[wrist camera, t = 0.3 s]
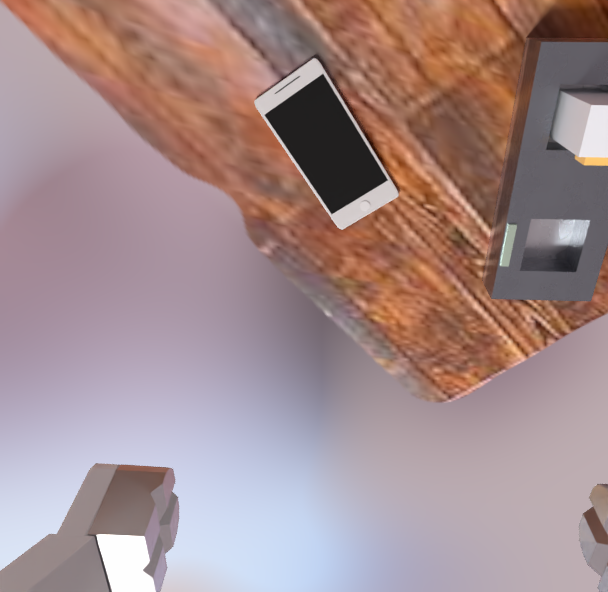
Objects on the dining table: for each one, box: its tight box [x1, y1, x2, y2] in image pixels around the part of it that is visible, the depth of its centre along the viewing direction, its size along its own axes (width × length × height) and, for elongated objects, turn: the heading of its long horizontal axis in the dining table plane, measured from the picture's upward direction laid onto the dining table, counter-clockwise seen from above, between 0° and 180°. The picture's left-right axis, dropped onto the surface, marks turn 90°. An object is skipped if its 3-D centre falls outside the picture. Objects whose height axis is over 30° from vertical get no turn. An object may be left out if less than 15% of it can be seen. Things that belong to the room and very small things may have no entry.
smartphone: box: [255, 58, 398, 230], centre depth 54 cm, size 7×16×1 cm, turn 34°
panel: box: [482, 38, 608, 301], centre depth 52 cm, size 24×10×4 cm, turn 0°
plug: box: [549, 88, 608, 166], centre depth 47 cm, size 5×4×8 cm
